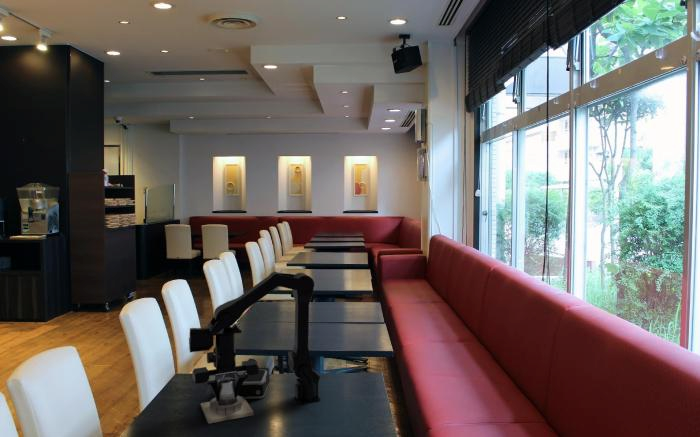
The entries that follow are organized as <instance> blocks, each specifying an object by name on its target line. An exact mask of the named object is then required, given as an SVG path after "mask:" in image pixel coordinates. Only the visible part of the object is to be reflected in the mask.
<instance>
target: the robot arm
mask: <svg viewBox="0 0 700 437" xmlns="http://www.w3.org/2000/svg"><path fill="white" fill-rule="evenodd" d="M279 287H280V288H285V289H288V290H289V289H290V290H291V292H292V295H293V299H294V302H295V304H294V346H293V349H292V351H287V355H288V361H287V365H288V366H289V367H290V368H289V369H290V370H291V371H292V372H293V374H294V375H295V376H296V377H297V378H296V380H295V381H296V383H295V384H294V398H296V400H297V401H298V402H299V403H300V404H307V403H311V402H312V403H313V402H318V401H320V400H321V397H319V381H320V379H321V377H320V375H319V374H318V373H317V371H316V370H315V369H314V368H313V363H312V356H311V353H310V350H309V335H310V334H309V333H310V332H309V330H310V329H309V327H310V326H309V324H310V322H309V321H310V303H311V300H312V297H313V294H314V288H315V281H314V279H313V278H312V277H311V276H310V275H307V274H306V273H303V272H297V273H295V274H293V273H284V272H282V273H281V272H278V271H273V272H271V273H270V274H269V275H268V276H267V277H265V278H263V279H262V280H261V281H259V282H258V283H257V284H255V285H254V286H253V287H251V288H249V289H248V290H247V291H245V292H244V293H242V294H240V296H238V297H237V298H236V297H235V298H234V299H231V300H227V301H226V302H224V303H222V304H219V305H217V307H216V308H215V309H214V312H213V317H211V320H210V321H209V323H208V324H207V327H197V328H196V327H191V328H189V337H188V347H189V353H197V352H204V351H207V352H206V362H207V364H211V363H212V364H213V367H214V368H215V369H209V370H208V368H207V366H204V367H197V368H193V370H192V380H193V382H194V384H206V385H209V386H210V387H211V390H212V391H213V394H214V398H215V397H216V400H217V402H218V401H219V394H218V382H217V381H218V380H217V379H216V377H219V376H223V375H226V374H232V373H235V398H237V395H238V393H239V390H240V388H241V386H242V384H243V382H244V380H245V379H247V378H248V375H255V374H258V373H259V368H260V366H259V364H258V365H257V363H256V362H255V361H254V360H249V361H248V360H244V361H241V365H236V364H237V363H236V357H237V355H236V334H241V333H242V329H241V328H240V327H239V326H238V325H237V323H236V322H237V321H239V320H240V318H241V317H242V316H243V314H244V313H245V311H247V310H248V309H249V308H251V307H252V306H254V304H256V303H258V302H259V301H260V300H261V299H263V298H264V297H265V296H267V295H268V294H270V293H271V292H273V291H275V289H276V288H279ZM214 336H215V340H214ZM214 342H215V343H214ZM214 344H215V346H214ZM213 347H215V350H214V351H211V352H210V350H211V349H212V348H213ZM208 351H209V352H208ZM214 352H215V353H214ZM247 374H248V375H247Z"/></svg>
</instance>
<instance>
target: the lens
mask: <svg viewBox="0 0 700 437" xmlns="http://www.w3.org/2000/svg"><path fill="white" fill-rule="evenodd" d="M216 381H217V385H218V394H219V401H218V405H224V406H226V405H232V404H234V403H235V379H234V378H230V377H226V378H222V377H221V378H219V379H218V380H216Z"/></svg>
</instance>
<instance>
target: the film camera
mask: <svg viewBox="0 0 700 437" xmlns="http://www.w3.org/2000/svg"><path fill="white" fill-rule="evenodd" d="M249 360H254V361H255V362H256V363H257V365H258V366H259V362H258V359H257V358H255V357H250V358H248V359H247V361H249ZM247 375H248V374H247ZM226 377H230V378H234V379H235V373H232V374H226V375H222V377H221V378H226ZM269 383H270V369H269V368H268V367H259V373H258V374H255V375H248V378H247V379H245V380H244V382H243V384H242V386H241V388H240V390H239V393H238V396H243V397H244V398H245V400H246V399H249V400H250V399H251V400H252V399H253V400H254V399H263V398H264V397H265V395H266V393H267V389H268V386H269Z"/></svg>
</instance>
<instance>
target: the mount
mask: <svg viewBox="0 0 700 437" xmlns="http://www.w3.org/2000/svg"><path fill="white" fill-rule="evenodd" d="M200 408H201V410H202V412H203V414H204V417H205V419H206V422H207V424H213V423H215V424H216V423H219V422H224V421H230V420H234V419H235V420H236V419H241V418H246V417H251V416H254V414H255V413H254V410H253V409H252V407H251V406H250V404H249V403H248V401H247V400H246V399H245V398H244V397H243V396H238V395H237V398H235V403H234V404H232V405H226V406H224V405H218V402H217V400H216V397H215V396H214V397H213V398H212V399H211V400H210V401H205V402H201V403H200Z"/></svg>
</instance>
